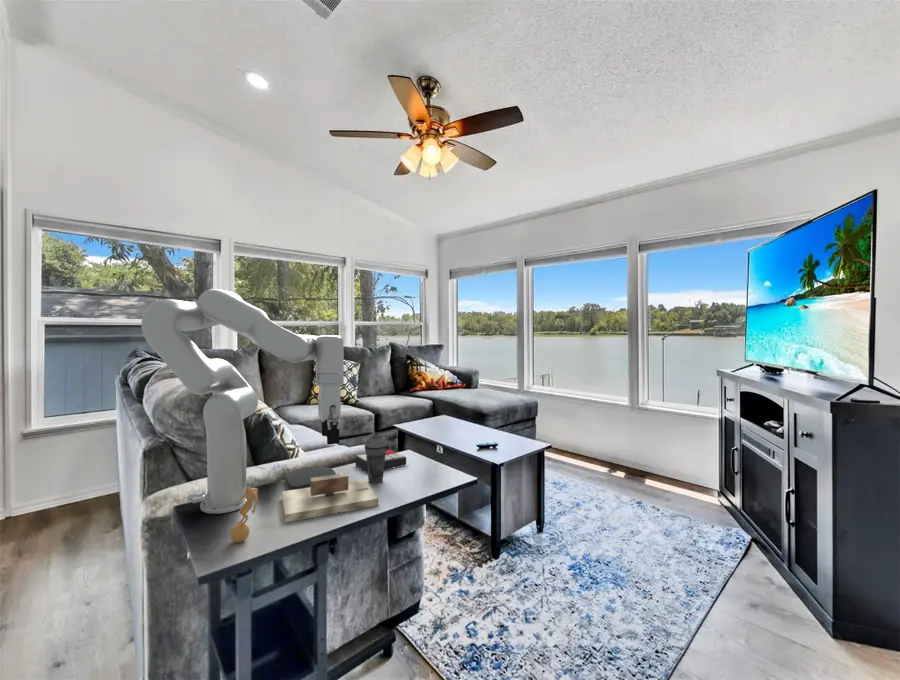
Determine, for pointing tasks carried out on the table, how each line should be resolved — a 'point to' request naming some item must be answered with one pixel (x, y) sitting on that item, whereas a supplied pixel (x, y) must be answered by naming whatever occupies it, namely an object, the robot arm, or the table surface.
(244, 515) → the figurine
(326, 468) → the media streaming box
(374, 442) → the beverage cup
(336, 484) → the brown wooden block
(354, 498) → the base
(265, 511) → the table surface
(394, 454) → the calculator
